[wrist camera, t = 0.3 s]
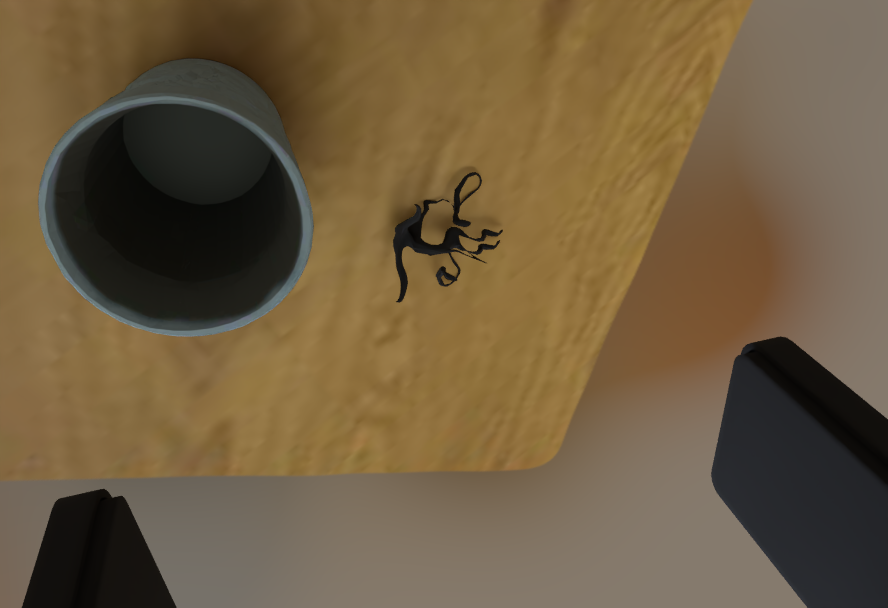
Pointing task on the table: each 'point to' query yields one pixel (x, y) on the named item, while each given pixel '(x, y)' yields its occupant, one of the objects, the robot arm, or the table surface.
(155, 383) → the table surface
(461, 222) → the creature
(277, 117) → the grey green cup
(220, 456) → the table surface
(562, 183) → the table surface
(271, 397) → the table surface
